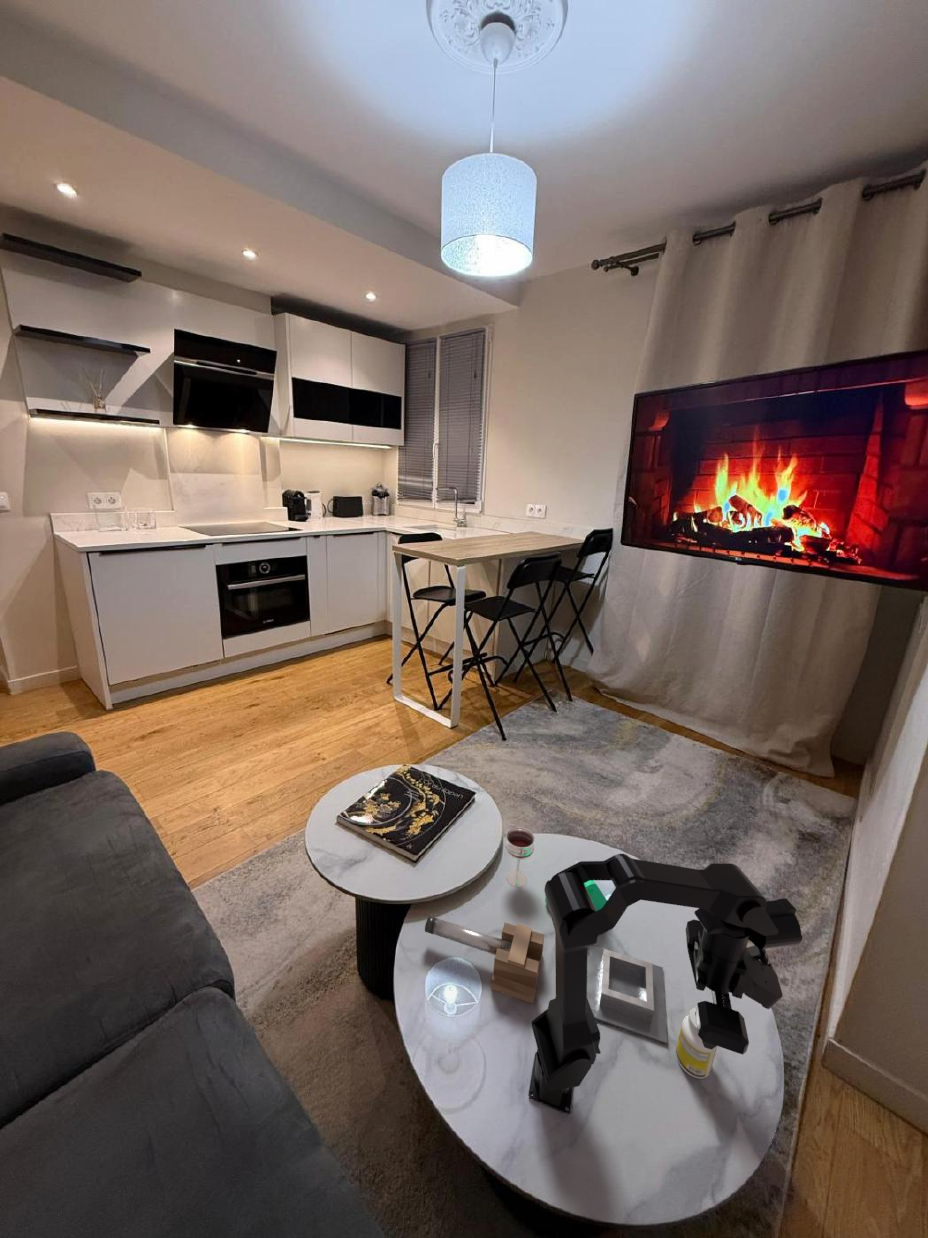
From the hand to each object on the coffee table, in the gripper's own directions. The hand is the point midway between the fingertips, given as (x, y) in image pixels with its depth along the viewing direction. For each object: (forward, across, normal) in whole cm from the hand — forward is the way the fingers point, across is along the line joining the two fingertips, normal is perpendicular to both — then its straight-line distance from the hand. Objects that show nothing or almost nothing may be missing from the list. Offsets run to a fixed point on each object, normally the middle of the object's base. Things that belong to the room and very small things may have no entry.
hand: (703, 1016), depth 79 cm
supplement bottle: (+11, 0, 0) cm, 11 cm away
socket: (+10, +8, +11) cm, 17 cm away
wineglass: (+11, +27, +36) cm, 46 cm away
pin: (+7, +5, +41) cm, 42 cm away
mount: (+10, +5, +31) cm, 33 cm away
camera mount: (+11, +24, +22) cm, 34 cm away
